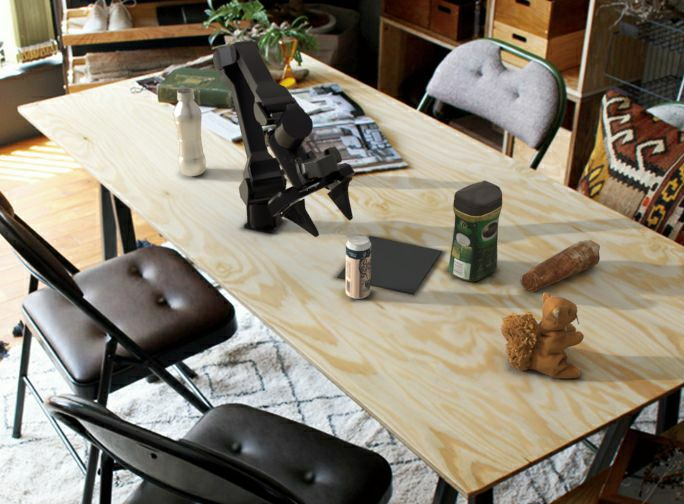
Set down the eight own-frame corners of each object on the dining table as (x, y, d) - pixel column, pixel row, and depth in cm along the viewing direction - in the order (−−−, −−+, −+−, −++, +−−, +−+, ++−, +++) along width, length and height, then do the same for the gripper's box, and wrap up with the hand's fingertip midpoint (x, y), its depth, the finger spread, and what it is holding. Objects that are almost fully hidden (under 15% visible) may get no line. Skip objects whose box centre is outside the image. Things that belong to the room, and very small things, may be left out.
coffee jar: (473, 255, 213) (480, 173, 201) (502, 270, 208) (511, 186, 197) (441, 271, 207) (446, 187, 196) (470, 287, 203) (478, 202, 192)
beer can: (367, 302, 198) (368, 247, 190) (343, 298, 198) (343, 244, 191) (372, 289, 201) (373, 235, 194) (348, 286, 202) (349, 232, 195)
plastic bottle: (212, 171, 241) (206, 89, 230) (194, 182, 237) (186, 98, 225) (191, 164, 244) (184, 82, 232) (172, 175, 240) (164, 92, 228)
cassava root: (600, 269, 209) (605, 245, 206) (532, 298, 200) (536, 274, 196) (578, 256, 213) (582, 232, 210) (510, 284, 204) (513, 260, 200)
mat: (337, 277, 204) (337, 276, 204) (369, 237, 218) (369, 235, 218) (413, 294, 200) (413, 293, 200) (441, 251, 214) (441, 250, 213)
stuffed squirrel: (584, 379, 179) (595, 316, 171) (504, 381, 178) (511, 318, 170) (570, 346, 187) (581, 284, 179) (494, 348, 186) (501, 286, 178)
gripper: (276, 152, 183) (321, 228, 184) (348, 122, 194) (390, 194, 195) (248, 179, 192) (291, 251, 193) (319, 149, 203) (359, 217, 204)
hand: (334, 227), depth 196 cm, fingers open, 9 cm apart
